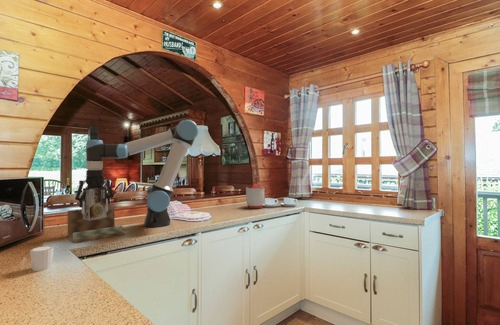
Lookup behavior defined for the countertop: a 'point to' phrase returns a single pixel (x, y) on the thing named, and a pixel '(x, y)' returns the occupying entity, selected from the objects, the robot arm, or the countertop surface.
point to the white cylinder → (41, 258)
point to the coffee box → (95, 203)
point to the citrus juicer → (255, 196)
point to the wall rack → (91, 227)
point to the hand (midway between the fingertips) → (95, 212)
